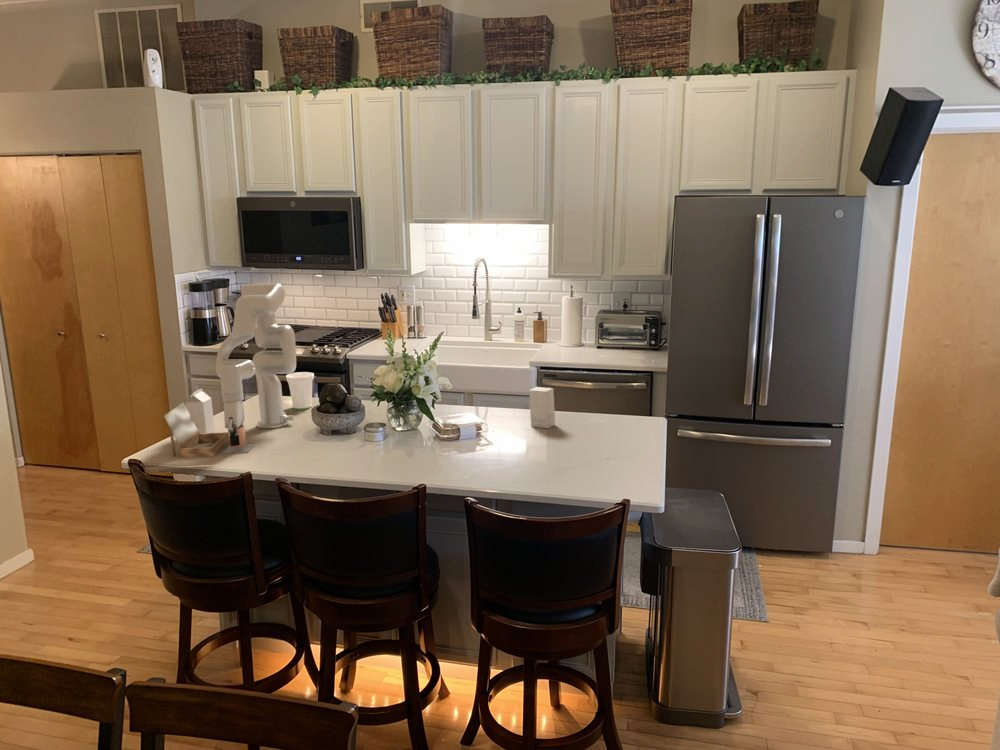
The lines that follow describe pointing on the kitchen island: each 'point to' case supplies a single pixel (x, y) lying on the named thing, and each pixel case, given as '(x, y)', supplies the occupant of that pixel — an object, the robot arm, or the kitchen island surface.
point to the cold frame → (192, 435)
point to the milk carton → (201, 411)
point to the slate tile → (238, 449)
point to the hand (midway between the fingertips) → (237, 442)
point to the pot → (240, 436)
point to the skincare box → (542, 407)
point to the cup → (301, 389)
